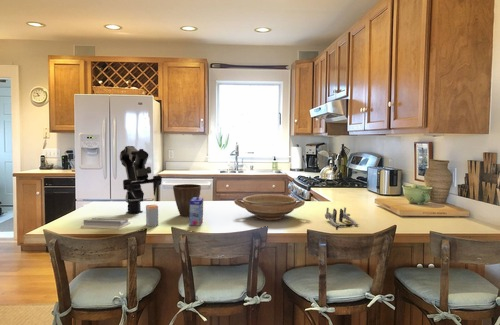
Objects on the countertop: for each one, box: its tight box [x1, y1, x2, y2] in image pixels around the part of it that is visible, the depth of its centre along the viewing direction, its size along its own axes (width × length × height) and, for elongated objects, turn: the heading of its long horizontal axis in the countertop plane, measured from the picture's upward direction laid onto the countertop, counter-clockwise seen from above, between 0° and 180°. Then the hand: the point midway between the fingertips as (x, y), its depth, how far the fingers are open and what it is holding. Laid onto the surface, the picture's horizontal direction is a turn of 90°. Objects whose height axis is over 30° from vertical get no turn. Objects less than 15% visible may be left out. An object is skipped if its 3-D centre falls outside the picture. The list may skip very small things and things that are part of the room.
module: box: [145, 204, 159, 227], centre depth 174 cm, size 4×4×10 cm
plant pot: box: [172, 183, 202, 217], centre depth 197 cm, size 15×15×16 cm
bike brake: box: [324, 207, 360, 231], centre depth 177 cm, size 14×7×20 cm
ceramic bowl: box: [233, 193, 305, 221], centre depth 192 cm, size 37×29×10 cm
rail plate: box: [80, 217, 131, 230], centre depth 174 cm, size 11×19×3 cm, turn 82°
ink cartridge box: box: [189, 193, 204, 227], centre depth 178 cm, size 10×6×14 cm, turn 179°
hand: (145, 196), depth 181 cm, fingers open, 9 cm apart
